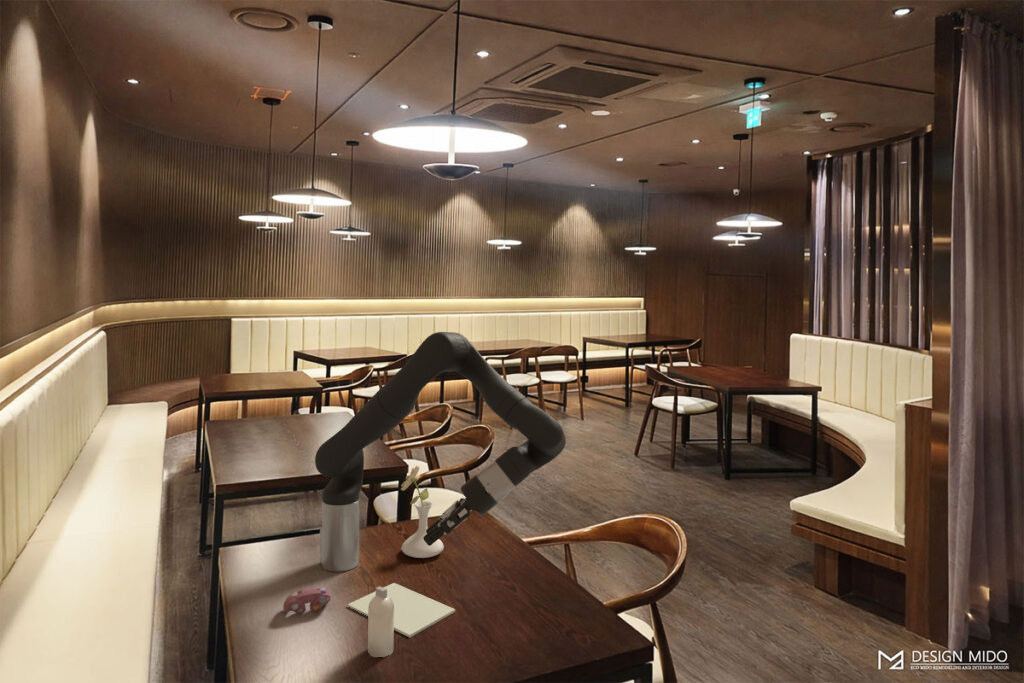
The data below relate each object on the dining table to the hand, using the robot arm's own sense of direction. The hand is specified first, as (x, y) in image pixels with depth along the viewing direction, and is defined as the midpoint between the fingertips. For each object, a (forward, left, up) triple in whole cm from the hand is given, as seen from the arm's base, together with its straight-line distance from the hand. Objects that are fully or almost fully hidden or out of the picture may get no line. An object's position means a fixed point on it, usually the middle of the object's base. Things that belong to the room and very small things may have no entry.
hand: (427, 538), depth 135 cm
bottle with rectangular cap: (-3, -10, -21) cm, 23 cm away
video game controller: (-27, -10, -21) cm, 36 cm away
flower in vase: (-30, +28, -21) cm, 46 cm away
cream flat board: (-12, +4, -21) cm, 24 cm away
